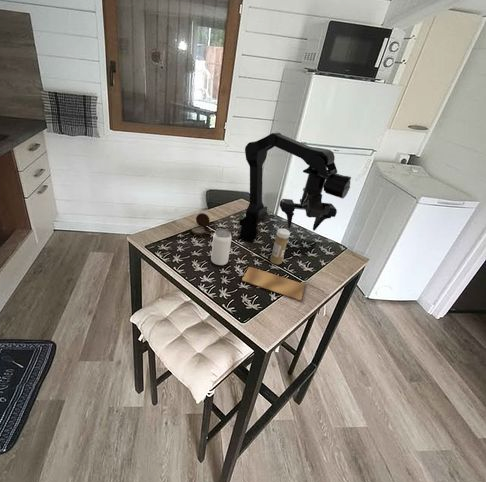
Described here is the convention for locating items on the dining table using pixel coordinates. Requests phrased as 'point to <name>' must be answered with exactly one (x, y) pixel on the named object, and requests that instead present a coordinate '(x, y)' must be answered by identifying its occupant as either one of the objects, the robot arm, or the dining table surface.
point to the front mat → (274, 283)
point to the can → (221, 247)
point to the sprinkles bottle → (279, 246)
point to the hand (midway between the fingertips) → (301, 228)
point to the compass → (201, 224)
